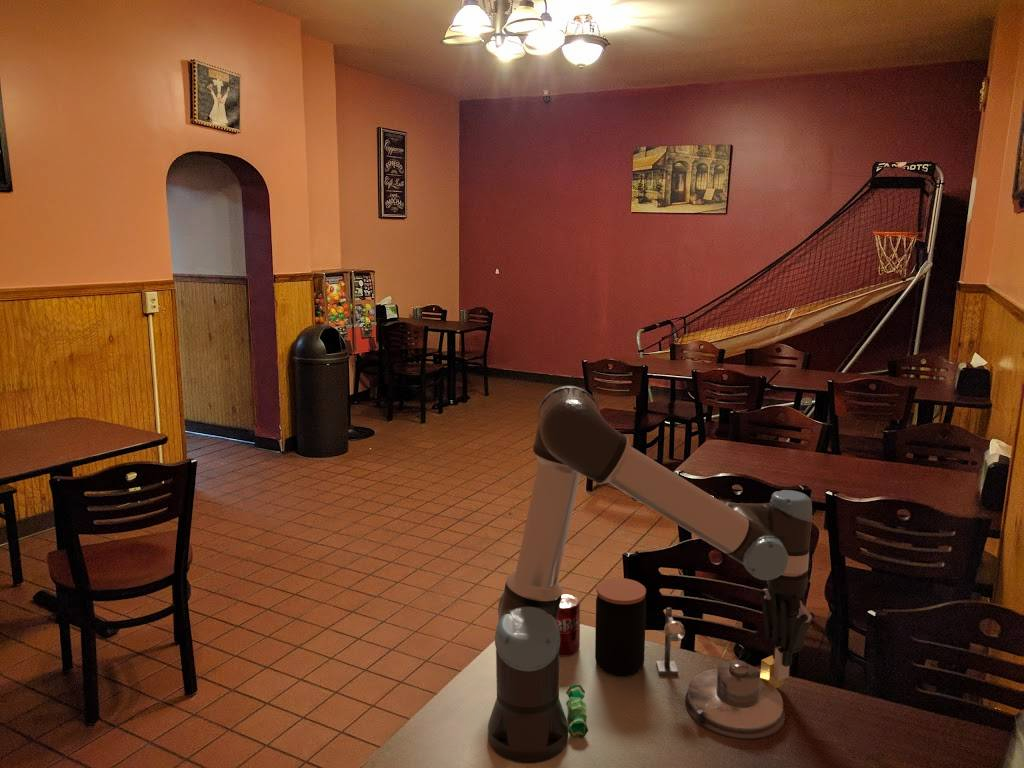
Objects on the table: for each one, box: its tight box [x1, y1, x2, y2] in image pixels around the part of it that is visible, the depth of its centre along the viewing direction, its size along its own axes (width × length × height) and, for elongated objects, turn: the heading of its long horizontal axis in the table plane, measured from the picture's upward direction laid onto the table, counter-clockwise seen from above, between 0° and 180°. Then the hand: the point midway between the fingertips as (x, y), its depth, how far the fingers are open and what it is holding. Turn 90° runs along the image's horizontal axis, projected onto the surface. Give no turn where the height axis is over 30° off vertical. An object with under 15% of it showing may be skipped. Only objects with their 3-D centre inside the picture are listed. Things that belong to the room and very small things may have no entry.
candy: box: [565, 684, 589, 739], centre depth 144 cm, size 12×3×4 cm
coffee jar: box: [594, 577, 647, 678], centre depth 161 cm, size 11×11×18 cm
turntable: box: [687, 654, 784, 733], centre depth 148 cm, size 21×18×6 cm
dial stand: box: [655, 606, 686, 677], centre depth 156 cm, size 4×9×15 cm, turn 178°
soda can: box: [557, 593, 581, 658], centre depth 167 cm, size 7×7×12 cm
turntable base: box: [684, 690, 786, 741], centre depth 147 cm, size 19×19×1 cm
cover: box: [716, 659, 761, 708], centre depth 146 cm, size 8×8×7 cm
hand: (781, 676), depth 150 cm, fingers closed
